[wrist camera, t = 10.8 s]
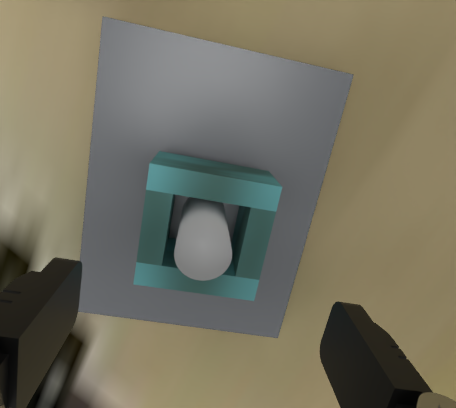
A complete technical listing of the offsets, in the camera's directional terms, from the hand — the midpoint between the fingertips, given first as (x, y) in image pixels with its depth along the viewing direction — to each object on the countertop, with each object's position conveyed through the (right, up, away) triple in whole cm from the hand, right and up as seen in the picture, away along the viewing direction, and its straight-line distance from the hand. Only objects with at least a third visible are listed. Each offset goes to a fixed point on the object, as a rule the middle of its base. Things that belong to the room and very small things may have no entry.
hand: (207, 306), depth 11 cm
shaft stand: (-1, +4, +12) cm, 13 cm away
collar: (-1, +3, +9) cm, 9 cm away
